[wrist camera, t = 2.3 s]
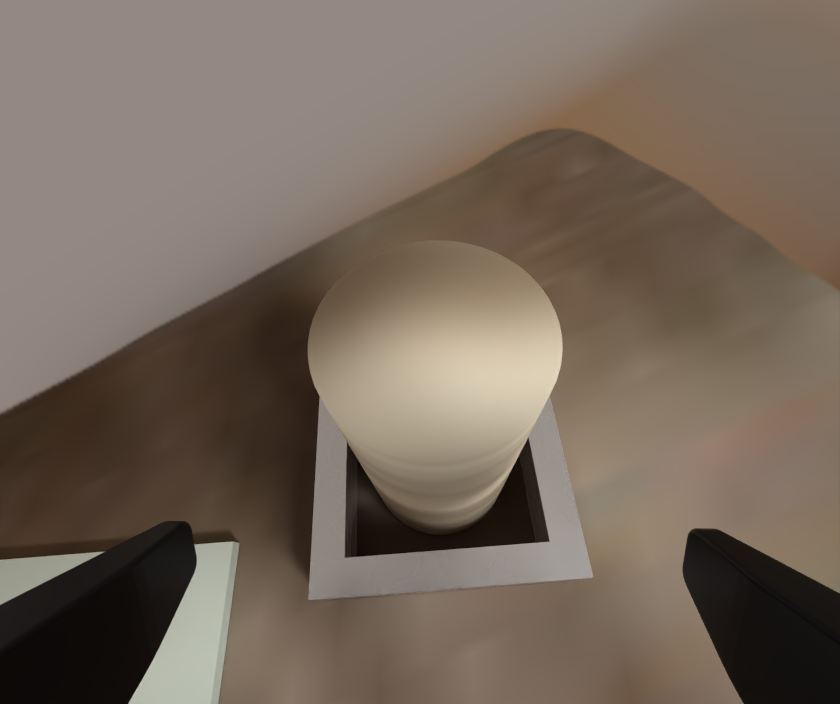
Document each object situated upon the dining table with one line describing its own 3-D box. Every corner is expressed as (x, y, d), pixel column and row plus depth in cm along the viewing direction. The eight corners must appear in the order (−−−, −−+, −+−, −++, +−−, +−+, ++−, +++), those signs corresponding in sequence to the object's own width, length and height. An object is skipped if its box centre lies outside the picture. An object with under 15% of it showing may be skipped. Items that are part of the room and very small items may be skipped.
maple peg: (513, 529, 18) (593, 445, 8) (376, 540, 18) (298, 468, 8) (492, 403, 20) (534, 231, 11) (374, 413, 21) (314, 249, 11)
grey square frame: (573, 580, 17) (593, 577, 14) (326, 600, 17) (308, 599, 15) (526, 362, 21) (535, 336, 19) (334, 378, 22) (321, 353, 19)
